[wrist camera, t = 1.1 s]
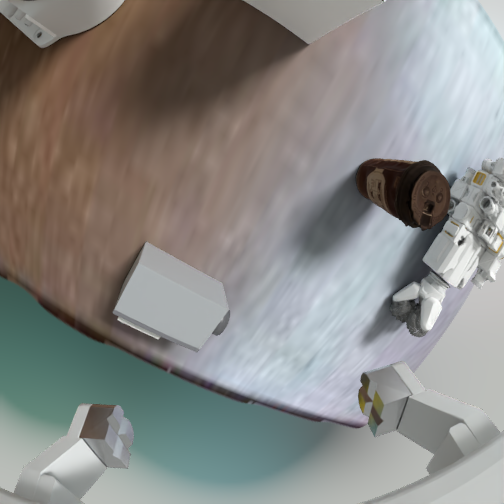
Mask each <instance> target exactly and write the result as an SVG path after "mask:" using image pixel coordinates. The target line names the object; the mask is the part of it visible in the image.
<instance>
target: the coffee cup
mask: <svg viewBox="0 0 504 504" xmlns="http://www.w3.org/2000/svg"><path fill="white" fill-rule="evenodd" d="M356 182H357V187H358V190H359V192H360V193H361V194H362V195H363V196H364V197H365V198H367V199H370V200H372V202H373V203H375V204H376V205H377V206H379V207H381V208H382V209H384V210H385V211H386V212H388V213H389V214H391V215H393V216H394V217H396V218H399V220H402V222H403V223H404V224H405V226H408V225H409V226H411V227H412V228H417V227H420V228H421V230H422V231H424V230H426V229H431V228H432V227H433V226H435V225H436V224H437V223H439V222H440V221H442V220H443V218H444V217H445V216H446V215H447V213H448V209H449V205H450V198H451V193H450V187H449V183H448V181H447V180H446V178H445V177H444V176H443V175H442V174H441V172H440V171H439V169H438V168H437V167H436V166H435V165H434V164H433V163H431V162H429V161H426V160H423V161H419V162H412V161H404V160H392V159H370V160H367V161H365V162H364V163H363V164H361V166H360V168H359V170H358V172H357V176H356Z"/></svg>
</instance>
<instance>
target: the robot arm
mask: <svg viewBox="0 0 504 504" xmlns="http://www.w3.org/2000/svg"><path fill="white" fill-rule="evenodd" d="M124 1H125V0H0V12H1V13H2V14H3V15H4V16H5V17H6V18H7V19H8V20H10V21H11V22H12V23H13V24H14V25H15V26H16V27H17V28H19V29H20V30H21V31H22V32H23V33H24V34H25V35H26V36H28V37H29V38H30V39H31V40H32V41H33V42H34V43H35V44H36V45H38V46H39V47H40V48H45V47H47V46H49V45H51V44H53V43H54V42H56V41H57V40H59V39H60V38H62V37H65V36H69V35H73V34H77V33H80V32H83V31H86V30H88V29H90V28H92V27H94V26H96V25H98V24H99V23H101V22H102V21H104V20H105V19H107V18H108V17H109V16H110V15H112V14H113V13H114V12H115V11H116V10H117V9H118V8H119V7H120V6H121V4H122V3H123V2H124ZM40 34H42V35H41V36H40V37H39V35H40ZM360 381H361V383H362V385H363V386H362V387H361V388H360V389H359V393H358V400H359V405H360V408H361V411H362V413H363V414H364V415H366V416H368V417H369V420H368V425H369V427H370V429H371V431H372V433H373V435H374V437H377V436H380V435H383V434H386V433H389V432H392V431H395V430H397V432H399V433H400V434H402V435H404V436H405V437H407V438H408V439H410V440H412V441H413V442H415V443H416V444H418V445H420V446H421V447H423V448H425V449H426V450H428V451H430V452H431V453H433V454H434V456H433V458H432V459H431V461H430V462H429V464H428V466H427V471H428V472H429V474H430V475H429V476H427V477H425V478H422V479H420V480H418V481H416V482H414V483H411V484H409V485H407V486H405V487H402V488H400V489H398V490H395V491H392V492H390V493H387V494H385V495H382V496H379V497H377V498H374V499H371V500H368V501H365V502H362V503H359V504H504V431H502V432H501V433H500V431H499V430H498V429H497V428H496V426H495V425H494V424H493V422H492V421H491V420H490V418H489V417H488V416H487V415H486V414H485V412H484V411H483V410H482V409H480V408H478V407H475V406H472V405H469V404H467V403H464V402H461V401H459V400H456V399H454V398H451V397H449V396H446V395H444V394H441V393H439V392H436V391H434V390H431V389H427V390H425V388H424V387H423V386H422V384H421V383H420V382H419V380H418V379H417V378H416V377H415V375H414V374H413V372H412V371H411V370H410V368H409V367H408V366H407V364H406V363H405V362H404V361H400V362H397V363H394V364H390V365H387V366H384V367H381V368H377V369H374V370H371V371H367V372H364V373H363V374H362V375H361V380H360ZM123 414H124V411H123V410H122V408H121V407H120V406H118V405H100V404H83V403H82V404H81V405H79V406H78V408H77V411H76V413H75V416H74V419H73V421H72V423H71V426H70V428H69V431H68V433H67V436H63V437H62V438H60V439H59V440H57V441H56V442H55V443H54V444H52V445H51V446H50V447H49V448H47V449H46V450H45V451H44V452H42V453H41V454H40V455H38V456H37V457H36V458H35V459H33V460H32V461H31V462H30V463H28V464H27V465H26V466H24V467H23V469H22V472H21V474H20V477H19V480H18V483H17V485H16V488H15V491H14V493H12V492H9V491H7V490H5V489H2V488H0V504H84V503H83V502H82V501H80V499H81V498H82V497H83V496H84V495H85V494H86V492H87V491H88V490H89V489H90V488H91V486H92V485H93V484H94V483H95V482H96V481H97V480H98V478H99V477H100V476H101V475H102V474H103V473H104V471H105V470H106V469H107V467H111V468H126V469H128V465H129V460H130V455H131V454H130V452H129V450H128V448H129V447H130V446H131V445H132V444H133V439H134V436H133V435H134V434H133V428H132V425H131V423H130V421H129V420H128V419H126V418H125V417H123Z"/></svg>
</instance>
